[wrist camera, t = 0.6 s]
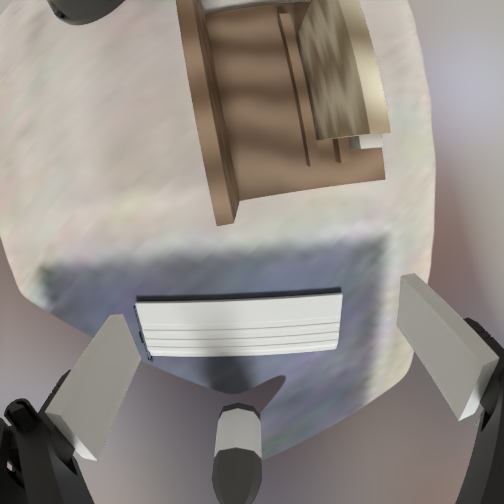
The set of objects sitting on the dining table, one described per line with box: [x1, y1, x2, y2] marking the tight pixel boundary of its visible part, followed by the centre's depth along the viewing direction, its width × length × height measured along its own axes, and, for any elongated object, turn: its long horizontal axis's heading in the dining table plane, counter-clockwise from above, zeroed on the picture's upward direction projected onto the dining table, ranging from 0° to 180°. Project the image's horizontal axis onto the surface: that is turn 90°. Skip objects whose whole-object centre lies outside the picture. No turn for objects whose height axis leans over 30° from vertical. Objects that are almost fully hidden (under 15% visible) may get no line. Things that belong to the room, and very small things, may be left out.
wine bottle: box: [212, 403, 262, 504], centre depth 38 cm, size 8×8×30 cm
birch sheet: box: [296, 0, 391, 141], centre depth 24 cm, size 14×2×18 cm, turn 10°
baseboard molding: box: [134, 292, 342, 361], centre depth 45 cm, size 31×3×12 cm
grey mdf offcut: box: [349, 133, 384, 149], centre depth 32 cm, size 6×3×4 cm, turn 10°
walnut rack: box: [176, 0, 385, 226], centre depth 28 cm, size 26×21×14 cm
